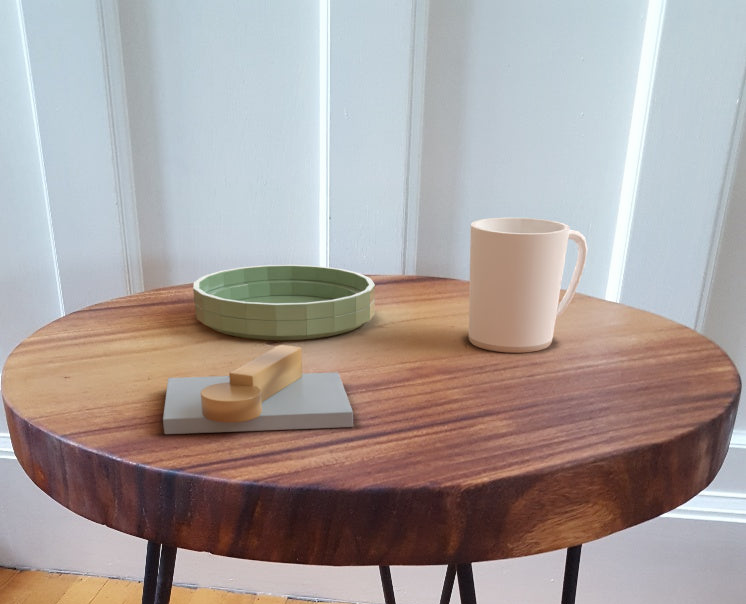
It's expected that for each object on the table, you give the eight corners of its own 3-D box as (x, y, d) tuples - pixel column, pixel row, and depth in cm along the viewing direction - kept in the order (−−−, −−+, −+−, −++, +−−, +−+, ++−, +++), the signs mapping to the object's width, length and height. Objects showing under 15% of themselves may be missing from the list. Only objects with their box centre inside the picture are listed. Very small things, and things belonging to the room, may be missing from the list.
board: (164, 434, 70) (162, 419, 70) (169, 392, 78) (167, 377, 78) (353, 427, 72) (353, 411, 71) (338, 386, 80) (338, 372, 80)
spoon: (244, 426, 68) (242, 392, 67) (191, 417, 70) (187, 385, 68) (315, 378, 78) (315, 348, 77) (267, 372, 79) (266, 342, 78)
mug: (472, 355, 88) (480, 234, 82) (456, 330, 96) (462, 217, 90) (588, 353, 89) (604, 233, 83) (563, 328, 97) (577, 217, 91)
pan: (195, 345, 90) (191, 306, 88) (197, 300, 105) (194, 266, 103) (385, 339, 92) (386, 302, 90) (361, 296, 107) (361, 263, 105)
